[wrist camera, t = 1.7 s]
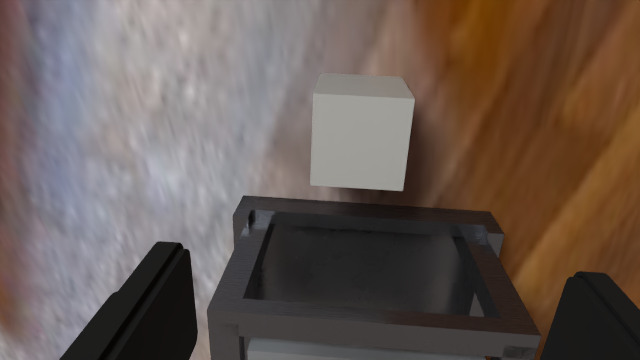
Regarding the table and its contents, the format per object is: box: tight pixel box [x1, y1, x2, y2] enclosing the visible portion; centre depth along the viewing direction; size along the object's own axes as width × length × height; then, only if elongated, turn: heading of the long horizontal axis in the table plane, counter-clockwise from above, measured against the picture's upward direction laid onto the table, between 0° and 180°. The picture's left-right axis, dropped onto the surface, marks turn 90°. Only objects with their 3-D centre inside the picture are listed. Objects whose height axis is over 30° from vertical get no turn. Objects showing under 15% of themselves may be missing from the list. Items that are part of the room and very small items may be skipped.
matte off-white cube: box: [310, 73, 415, 191], centre depth 25 cm, size 5×5×6 cm
